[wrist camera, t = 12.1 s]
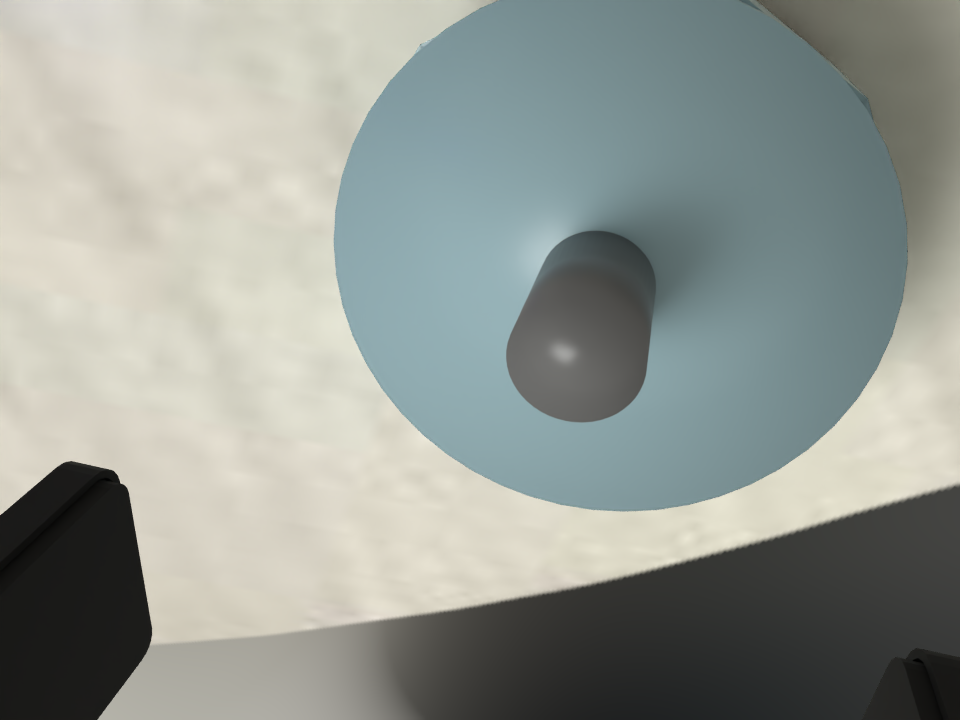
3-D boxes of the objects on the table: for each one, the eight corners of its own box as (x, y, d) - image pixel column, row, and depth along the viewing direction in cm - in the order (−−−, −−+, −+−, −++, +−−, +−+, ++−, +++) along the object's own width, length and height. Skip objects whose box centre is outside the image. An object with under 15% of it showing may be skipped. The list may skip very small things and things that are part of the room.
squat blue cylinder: (415, -58, 25) (239, -51, 16) (931, -7, 23) (1106, 38, 13) (400, 363, 33) (276, 544, 23) (786, 436, 30) (829, 675, 21)
